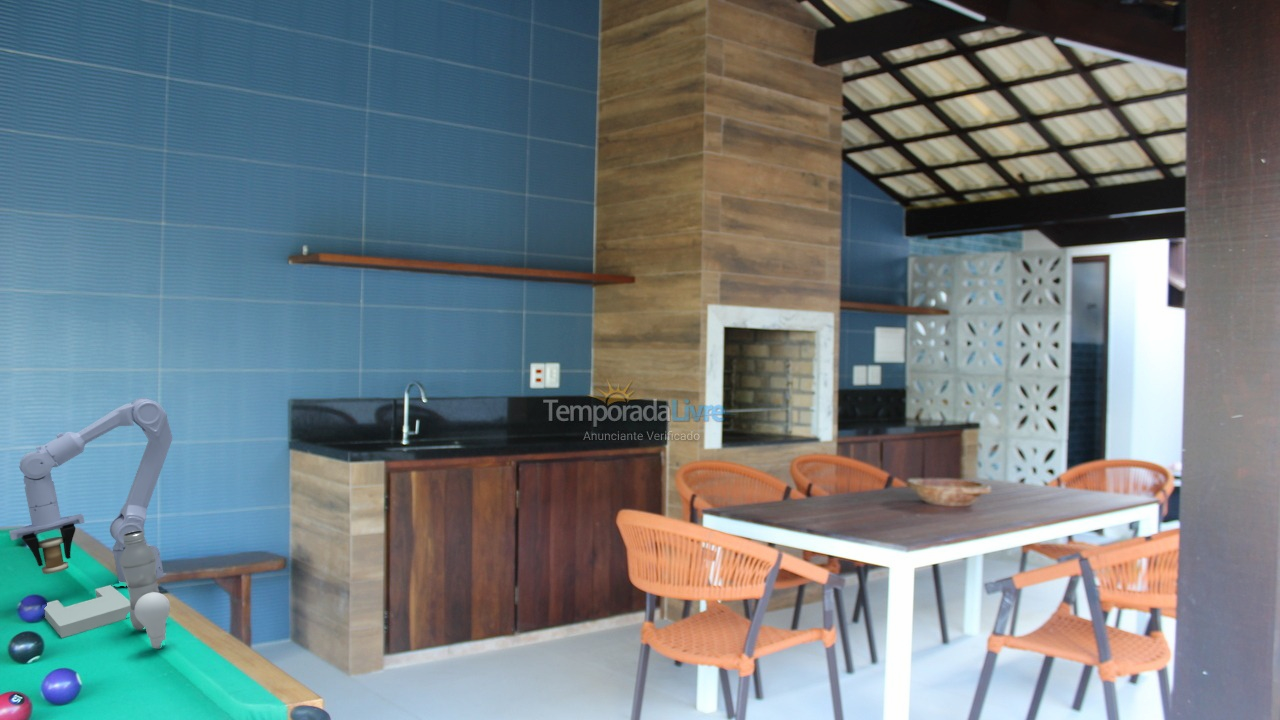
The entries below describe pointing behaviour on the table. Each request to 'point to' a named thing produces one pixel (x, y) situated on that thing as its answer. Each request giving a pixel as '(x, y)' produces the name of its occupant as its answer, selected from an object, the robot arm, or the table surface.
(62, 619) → the notched board
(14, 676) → the table surface
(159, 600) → the lightbulb
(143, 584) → the plastic bottle
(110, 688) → the table surface
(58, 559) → the bobbin
